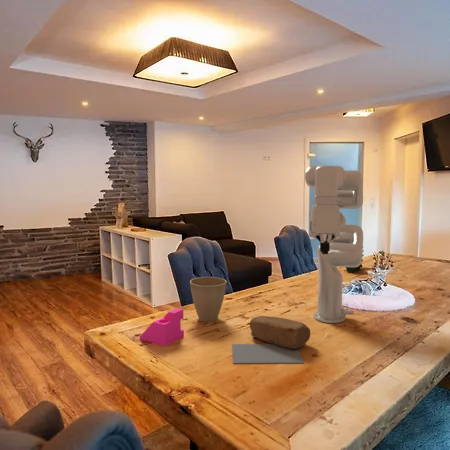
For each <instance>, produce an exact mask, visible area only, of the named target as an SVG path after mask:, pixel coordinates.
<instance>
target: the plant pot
mask: <svg viewBox="0 0 450 450" xmlns="http://www.w3.org/2000/svg"><path fill="white" fill-rule="evenodd" d="M189 284H190V292H191V296H192V302H193V305H194V309H195V311H196V314H197V317H198V319H199V321H201V322H206V323H210V322H215V321H217V319H218V317H219V316H220V312H221V309H222V306H223V303H224V302H223V301H224V298H225V295H226V289H227V280H226V279H224V278H221V277H218V276H217V277H216V276H215V277H214V276H201V277H200V276H199V277H195V278H192V279H191V280H189Z"/></svg>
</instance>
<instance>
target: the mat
mask: <svg viewBox="0 0 450 450" xmlns="http://www.w3.org/2000/svg"><path fill="white" fill-rule="evenodd" d="M231 347H232V364H233V365H239V364H240V365H241V364H244V365H247V364H251V365H252V364H255V365H257V364H259V365H260V364H261V365H262V364H269V365H270V364H272V365H273V364H274V365H275V364H305V360H303V356H302V355H301V353H300V350H299V348H296V349H291V348H287V347H283V346H279V345H276V344H272V343H232V344H231Z"/></svg>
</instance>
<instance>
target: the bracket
mask: <svg viewBox="0 0 450 450" xmlns="http://www.w3.org/2000/svg"><path fill="white" fill-rule="evenodd" d="M181 320H184V308H183V309H182V308H175V309H173V310H170V311H168V312H167V313H166V314H165V315H164V316H163V317H161V318H159V319H157V320H155V321H153V322H151V324H150V325H148V327H147V328H146V329H145V330H144V331H143V332H142V333H141V335H139V339H140V340H143V341H147V342H148V343H149V342H150V343H152V344H157V345H160V346H162V347H166V346H168V345H170V344H172V343H173V342H176V341H178V340H180V339H181V338H184V336H185V330H184V329H182V328H181Z"/></svg>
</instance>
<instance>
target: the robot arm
mask: <svg viewBox="0 0 450 450" xmlns="http://www.w3.org/2000/svg"><path fill="white" fill-rule="evenodd" d="M304 180H305V184H306V185H307V186H308V187H310V188H314V205H312V206H311V211H310V217H309V234H308V235H309V237H310V238H314V239H316V240H318V241H319V245H318V246H317V249H316V258H317V264H318V283H317V284H318V288H317V289H318V292H317V293H318V295H317V297H318V298H317V311H315V312H314V313H313V317H314V319H315V320H317V321H319V322H322V323H326V324H340V323H343V322H345V321H346V315H349V316H350V315H354V313H355V312H354V309H349V308H343V280H344V279H343V275H342V272H341V271H340V270H339V267H342V268H343V267H344V268H346V267H358V266H359V265H360V264H361V265H362V263H363V262H362V260H363V257H362V255H363V253H364V250H363V249H364V232H363V228H362V227H361V226H359V225H357V224H347V219H346V216H345V215H344V214H343V213H342V212H341V211H340V210H341V209H343V210H358V209H361V207H362V206H363V202H364V190H363V184H364V183H363V177H362V174H361V172H360V171H358V170H356V169H355V170H349V169H348V170H347V169H346V170H345V169H344V167H342V165H341V166H340V165H313V166H308V167H307V168H306V170H305V172H304Z"/></svg>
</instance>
